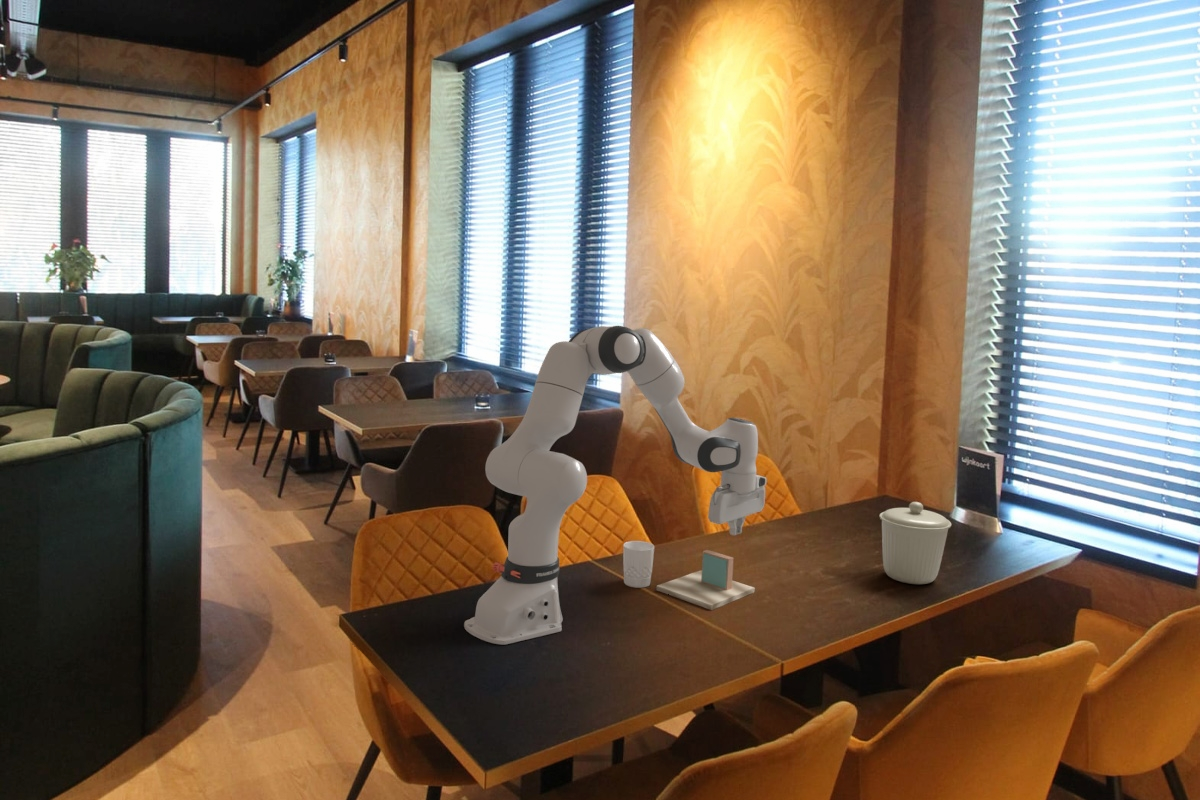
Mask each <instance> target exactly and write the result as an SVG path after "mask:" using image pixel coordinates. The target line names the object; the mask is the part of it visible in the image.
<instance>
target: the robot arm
mask: <svg viewBox="0 0 1200 800" xmlns="http://www.w3.org/2000/svg"><path fill="white" fill-rule="evenodd" d="M623 373H628V374H629V376H630V378H631V379H632V380H633V382H634V384H635V385H636V386H637V387H636V388H638V390H639V391H640V392H641V394H642V395H643V396H644V397H645V399H647V401H648V402H649V403H650V404H651V405H652V407H653V408H654V410H655V412H656V414H657V415H658V417H659V418H660V420H661V421H662V424H663V425H664V427H665V428H666V430H667V431H668V434H669V436H670V439H671V445H672V450H673V452H674V455H675V457H676V458H677V459H678V460H679V461H680V462H681V463H684V464H688V465H690V466H694V467H695V468H698V469H699V470H702V471H705V472H708V473H719V472H721V474H720V486H717V487H716V488H715V490H714V491H713V493H712V494H711V496H710V501H709V507H708V515H707V516H708V517H707V519H708V520H709V521H708V522H710V523H713V524H716V525H722V524H726V523H727V525H728V527H729V534H730V535H731V536H737V535H739V534H742V532H743V531H742V530H743V525H744V523H745V521H746V517H747V516H751V515H753V514H757V513H759V512H762V511H763V509H764V508H765V502H766V487H765V486H767V482H768V479H767V477H765V476H762V475H758V474H757V466H756V461H757V457H758V453H759V435H758V434H759V433H758V428H757V425H756V424H755V423H754V422H752V421H749V420H746V419H743V418H738V417H728V418H726V421H724V422H723V423H722V424H721V425H720V426H719V425H718V427H716V428H714V429H712V430H706V429H704V428H703V427H700V426H698V425H696V424H695V423H694V422H693V421H692V420H691V419H690V417H689V416H688V414H687V411H686V410H685V408H684V407H683V406H682V404H681V401H680V399H679V398H678V397H679V396H680V395H681V394H682V392H683V390H684V388H685V382H686V380H685V376H684V374H683V371H682V369H681V368H680V365H679V364H678V362H677V360H676V359H675V358H674V356H673V355H672V353H671V352H670V350H669V349H668V348H667V347H666V346H665V344H664V343H663V342H662V341H661V340H660V339H659V337H657V336H656V335H655V334H654V332H653V331H651V330H650V329H648V328H644V327H642V328H641V327H639V328H636V329H631V328H629V327H627V326H624V325H623V326H622V325H613V326H612V325H611V326H605V325H600V326H596V327H591V328H587V329H586V328H585V329H582V330H580V331H578V332H577V333H575V334H574V335H572V336H571V337H570V339H569V340H568V341H564V340H563V341H559V342H556V343H554V344H552V345H551V346H550V348H549V350H548V351H547V353H546V355H545V357H544V359H543V360H542V364H541V366H540V368H539V371H538V374H537V377H536V380H535V383H534V387H533V390H532V393H531V397H530V400H529V402H528V405H527V409H526V410H525V411H526V412H525V413H524V416H523V418H522V420H521V422H520V423H519V425H518V426H517V428H516V429H515V431H514V432H513V433H512V435H511V436H510V437H509V438H508V439H507V440H505V441H504V442H503V443H501V444H500V445H497V446H496V447H494V448H493V449H492V450H491V451H490V452H489V454H488V455H487V458H486V462H485V467H484V469H485V476H486V478H487V481H488V482H489V483H490V484H491V485H493V486H494V487H496V488H498V489H499V490H502V491H504V492H506V493H509V494H513V495H517V496H521V497H524V498H526V506H525V509H524V512H523V513H521V514H519V515H518V516H516V517H514V519H513V520H512V521H511V522H510V524H509V526H508V537H507V538H508V539H507V540H508V542H507V543H508V544H507V545H508V546H507V548H508V549H507V556H506V559H505V560H504V564H503V563H500V562H498V561H495V562H494V563H493V564H492V570H493V571H494V572H497V573H498V574H500V577H499V578H498V579H496V581H494V583H493V584H492V585H491V586H490V587H489V588H488V589H487V590H486V592H484V593H483V594H482V595H481V597H480V596H479V599H478V601H477V603H476V607H475V614H474V616H473V617H471V618H470V619H467V620H465V621H464V623H463V627H464V629H465V630H466V632H467V633H469V634H470V635H471V636H473V637H476V638H478V639H480V640H481V641H484V642H488V643H491V644H496V645H508V644H514V643H518V642H521V641H525V640H531V639H535V638H540V637H543V636H547V635H551V634H555V633H556V634H557V633H559V632H562V631H563V629H562V627H563V626H562V622H563V619H564V618H563V615H562V611H561V610H562V608H561V606H560V597H559V595H560V594H559V588H558V587H559V586H558V585H559V584H558V576H560V558H559V556H558V554H559V553H558V552H559V539H560V538H559V537H560V528H561V524H562V520H563V517H564V515H565V514H566V511H567V510H568V509H569V508H570V507H571V506H572V505H573V504H575V503H576V502H577V501H579V499H581V498H582V496H583V494H584V492H585V491H586V488H587V484H588V474H587V470H586V468H585V465H584V464H583V462H581V461H579V460H577V459H575V458H574V457H572V456H569V455H567V454H565V453H562V452H557V451H556V452H555V451H550V450H551V448H552V446H553V445H554V444H555V442H556V441H557V440H558V439H560V438H561V437H564V436H566V435H568V434H569V433H571V432H572V431H573V429H574V427H575V426H576V423H577V420H578V415H579V411H580V408H581V405H582V400H583V398H584V397H583V396H584V394H585V390H586V384H587V382H588V380H589V378H590V377H591V375H593V374H595V375H605V376H606V375H613V374H623Z"/></svg>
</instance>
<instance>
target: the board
mask: <svg viewBox="0 0 1200 800" xmlns="http://www.w3.org/2000/svg"><path fill="white" fill-rule="evenodd" d="M701 576H702V569H701V570H700V569H699V570H698V571H694V572H691V573H689V574H686V575H683V576H681V577H677V578H674V579H671V580H669V581H666V582H663V583H660V584H658V585H656V591H657V592H661V593H663V594H666V595H668V594H669V596H671V597H674V598H677V599H679V600H682V601H686V602H688V603H691V604H693V605H696V606H699V607H702V608H704V609H706V610H710V611H713V610H715V609H717V608H720V607H723V606H725V605H727V604H730V603H732V602H734V601H735V602H736V601H737V600H740V599H742V598H744V597H746V596H749V595H752V594H754V593H755V589H756V587H754V586H751V585H747V584H744V583H742V582H738V581H735V580H732V589H729V590H724V589H721V588H718V587H715V586H712V585H710V584H707V583H704V582H701Z"/></svg>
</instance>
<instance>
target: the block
mask: <svg viewBox="0 0 1200 800" xmlns="http://www.w3.org/2000/svg"><path fill="white" fill-rule="evenodd" d="M734 559H735V558H734V557H732V556H730V555H726V554H722V553H719V552H716V551H712V550H710V549H706V550H703V551H702V561H701V562H702V563H701V570H702V576H701V582H704V583H707V584H710V585H712V586H715V587H718V588H721V589H724V590H729V589H732V581H733V576H734V575H733V573H734Z"/></svg>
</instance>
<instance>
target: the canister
mask: <svg viewBox="0 0 1200 800" xmlns="http://www.w3.org/2000/svg"><path fill="white" fill-rule="evenodd" d="M879 519H880V521H881V539H882V541H881V542H882V543H881V544H882V549H881V550H882V563H883V564H882V565H883V570H884V572H885V574H886V575H887V576H888V577H889V578H891V579H892V580H894V581H898V582H900V583H905V584H908V585H909V584H911V585H926V584H930V583H932V582H933V581H935V580H936V578H937V576H938V574H939V572H940V567H941V562H942V560H943V555H944V552H945V551H944V550H945V546H946V541H947V537H948V531H949V529H950V528H951V527H952V522H951V521H950V520H949V519H947V518H946V517H945V516H943V515H942V514H940V513H937V512H935V511H931V510H926V509H924V505H923V504H922V503H921V502H918V501H912V502H910V503H909V504H908V507H894V508H893V507H892V508H889V509H886V510H885V511H883V512H881V513H879Z"/></svg>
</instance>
